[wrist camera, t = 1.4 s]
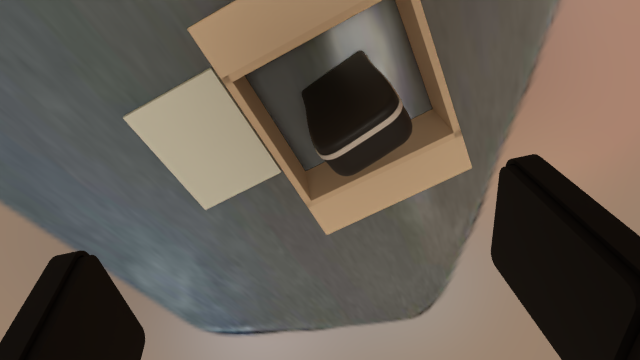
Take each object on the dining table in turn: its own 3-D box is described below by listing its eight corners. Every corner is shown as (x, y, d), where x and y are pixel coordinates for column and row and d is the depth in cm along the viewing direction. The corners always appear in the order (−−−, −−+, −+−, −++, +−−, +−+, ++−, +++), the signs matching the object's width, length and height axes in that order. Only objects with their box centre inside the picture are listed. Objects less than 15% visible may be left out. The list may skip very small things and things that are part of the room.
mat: (211, 66, 34) (210, 68, 33) (281, 169, 40) (281, 172, 40) (124, 115, 35) (122, 117, 35) (205, 207, 42) (205, 209, 41)
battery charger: (320, 122, 38) (342, 193, 29) (297, 92, 36) (312, 157, 27) (383, 80, 36) (428, 139, 27) (362, 46, 34) (403, 97, 25)
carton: (372, -91, 29) (392, -91, 25) (450, 142, 41) (472, 167, 37) (195, 12, 31) (187, 29, 27) (319, 204, 44) (326, 235, 39)
